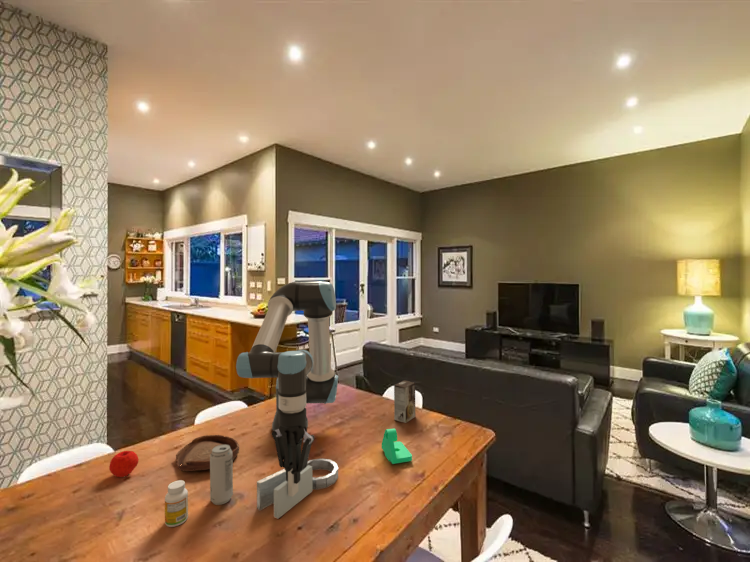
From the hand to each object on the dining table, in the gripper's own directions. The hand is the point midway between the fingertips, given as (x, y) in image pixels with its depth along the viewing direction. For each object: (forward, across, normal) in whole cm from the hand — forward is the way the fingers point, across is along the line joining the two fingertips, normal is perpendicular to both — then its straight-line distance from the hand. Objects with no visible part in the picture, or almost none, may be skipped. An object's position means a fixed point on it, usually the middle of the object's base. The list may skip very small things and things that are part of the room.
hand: (293, 493), depth 97 cm
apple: (+5, -63, -6) cm, 63 cm away
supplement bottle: (+5, -27, -15) cm, 31 cm away
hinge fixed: (+5, -5, +10) cm, 12 cm away
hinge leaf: (+4, -1, +2) cm, 5 cm away
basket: (+5, -45, +12) cm, 47 cm away
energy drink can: (+5, -22, -4) cm, 23 cm away
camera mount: (+5, +17, +39) cm, 43 cm away
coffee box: (+5, +9, +73) cm, 74 cm away
